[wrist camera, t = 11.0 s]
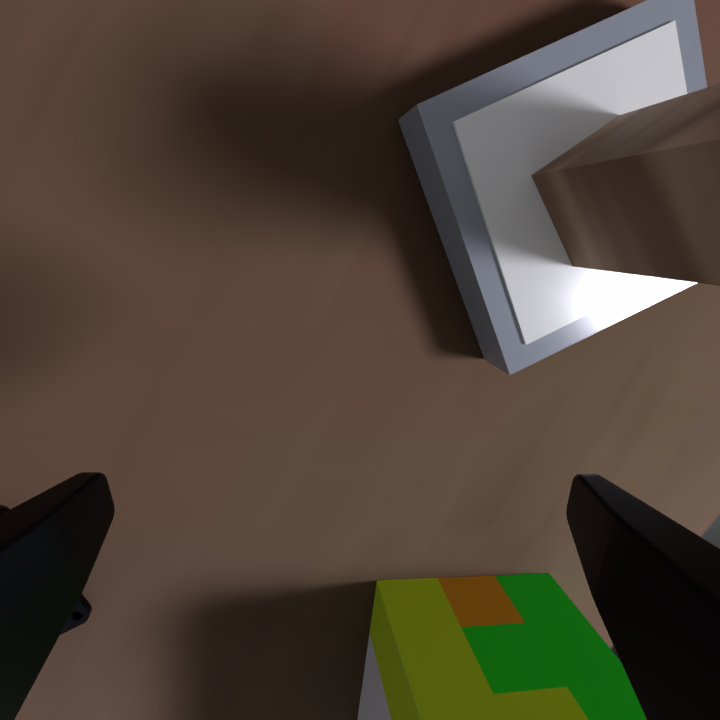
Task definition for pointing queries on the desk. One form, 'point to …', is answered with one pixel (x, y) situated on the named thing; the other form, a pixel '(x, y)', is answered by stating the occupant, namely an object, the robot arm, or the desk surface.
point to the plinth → (528, 155)
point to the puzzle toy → (488, 654)
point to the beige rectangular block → (643, 192)
